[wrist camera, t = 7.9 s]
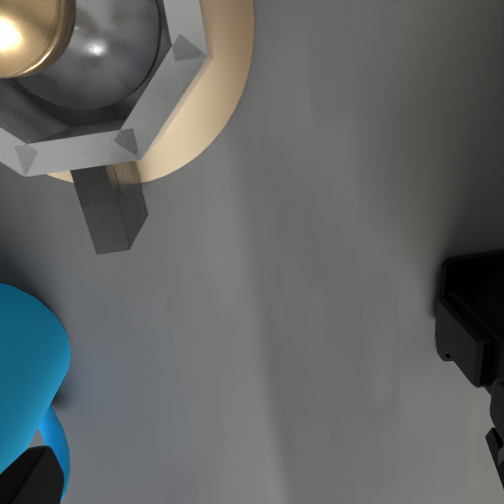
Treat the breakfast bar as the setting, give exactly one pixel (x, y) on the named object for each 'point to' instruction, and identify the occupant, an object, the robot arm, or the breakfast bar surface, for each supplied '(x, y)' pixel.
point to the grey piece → (109, 129)
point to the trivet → (205, 92)
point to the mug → (30, 376)
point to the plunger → (79, 48)
